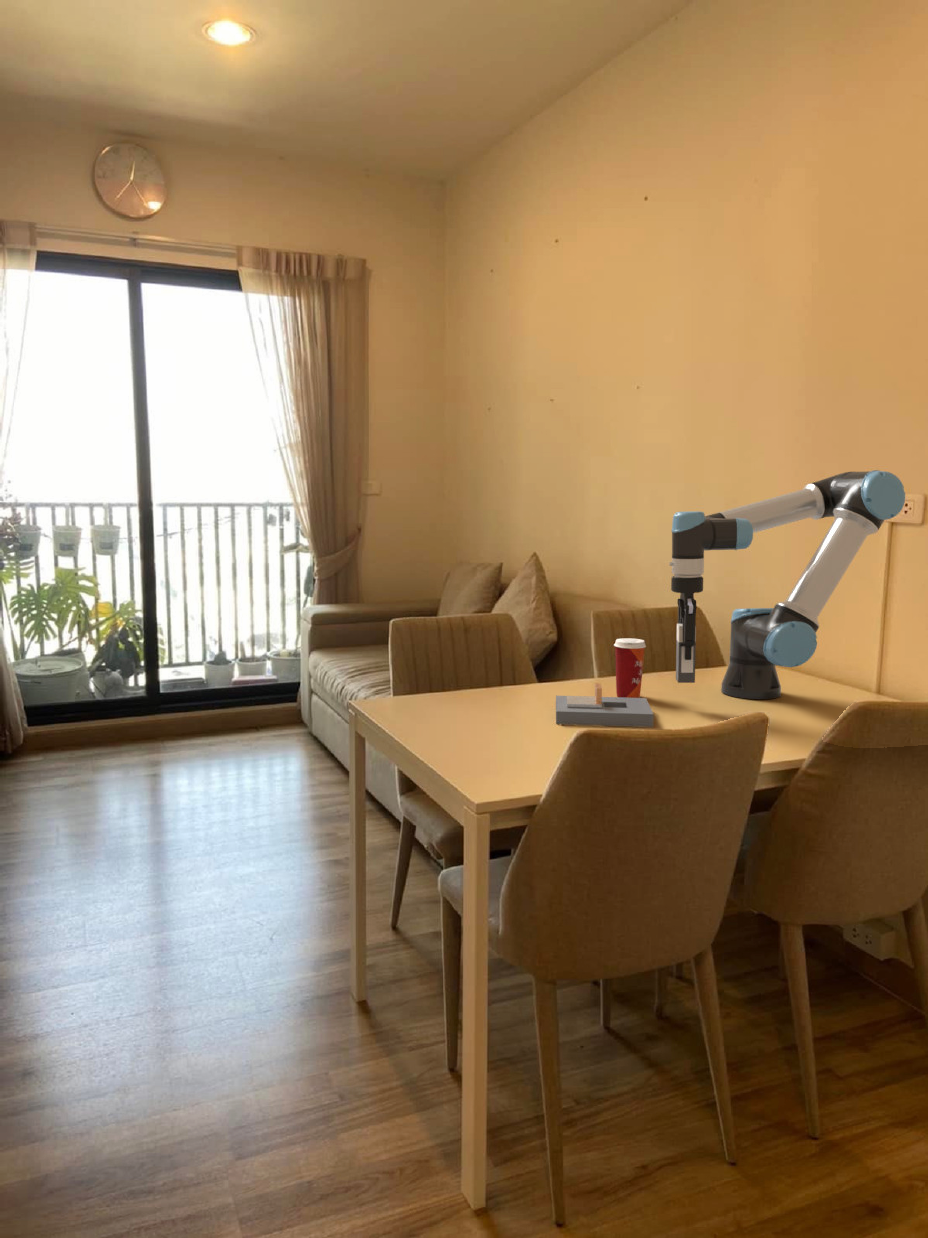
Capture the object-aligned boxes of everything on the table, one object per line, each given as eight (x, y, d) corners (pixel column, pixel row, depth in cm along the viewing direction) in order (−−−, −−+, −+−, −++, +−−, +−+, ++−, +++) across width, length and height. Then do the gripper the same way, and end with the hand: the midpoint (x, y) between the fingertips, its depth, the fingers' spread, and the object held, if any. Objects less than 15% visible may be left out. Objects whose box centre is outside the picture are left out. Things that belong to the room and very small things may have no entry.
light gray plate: (599, 700, 216) (600, 682, 215) (601, 708, 208) (602, 689, 207) (566, 699, 216) (566, 681, 216) (567, 707, 209) (567, 688, 208)
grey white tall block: (692, 679, 221) (693, 623, 219) (694, 682, 217) (696, 626, 215) (675, 679, 221) (676, 623, 219) (678, 682, 218) (679, 626, 215)
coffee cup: (644, 701, 228) (646, 643, 226) (611, 699, 230) (613, 642, 228) (644, 694, 236) (646, 638, 234) (612, 692, 238) (614, 637, 236)
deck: (645, 710, 219) (645, 698, 219) (653, 727, 203) (653, 714, 203) (555, 707, 221) (555, 695, 221) (556, 723, 205) (556, 711, 205)
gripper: (667, 572, 224) (665, 663, 228) (676, 579, 207) (674, 677, 211) (697, 572, 223) (695, 663, 227) (709, 579, 207) (707, 677, 210)
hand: (685, 670), depth 219 cm, fingers closed on grey white tall block, 4 cm apart
